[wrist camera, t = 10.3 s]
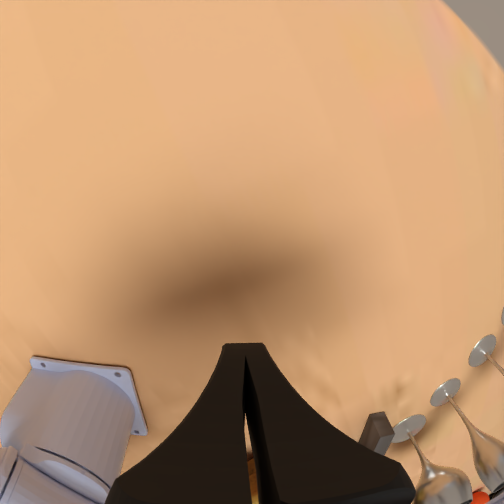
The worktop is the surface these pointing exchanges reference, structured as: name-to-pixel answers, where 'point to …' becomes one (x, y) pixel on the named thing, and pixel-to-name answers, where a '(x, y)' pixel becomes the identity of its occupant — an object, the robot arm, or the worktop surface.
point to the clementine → (480, 498)
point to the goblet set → (483, 445)
